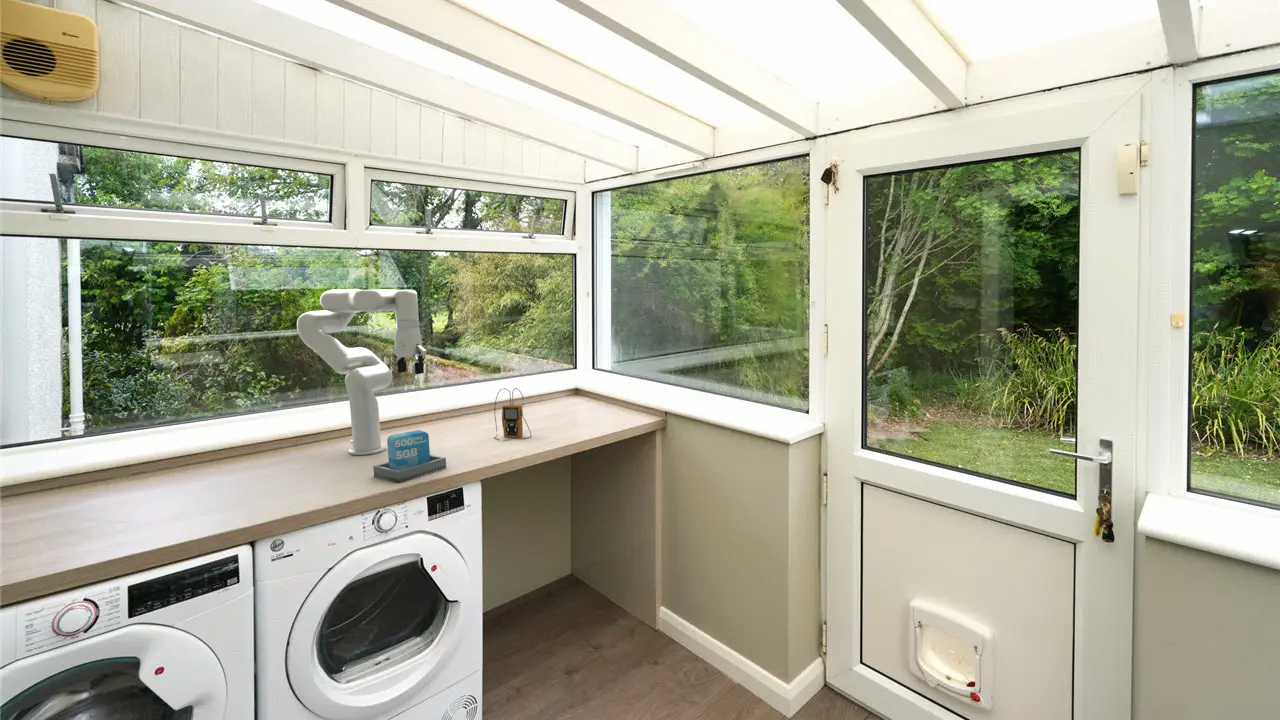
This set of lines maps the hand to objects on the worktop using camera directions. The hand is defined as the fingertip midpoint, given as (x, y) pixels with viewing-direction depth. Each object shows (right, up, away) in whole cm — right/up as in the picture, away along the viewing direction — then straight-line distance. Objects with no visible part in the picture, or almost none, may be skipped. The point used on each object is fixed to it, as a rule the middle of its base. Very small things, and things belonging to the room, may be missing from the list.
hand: (410, 372), depth 211 cm
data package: (+6, -32, -17) cm, 36 cm away
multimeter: (+30, -27, +25) cm, 48 cm away
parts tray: (+6, -32, -17) cm, 37 cm away
